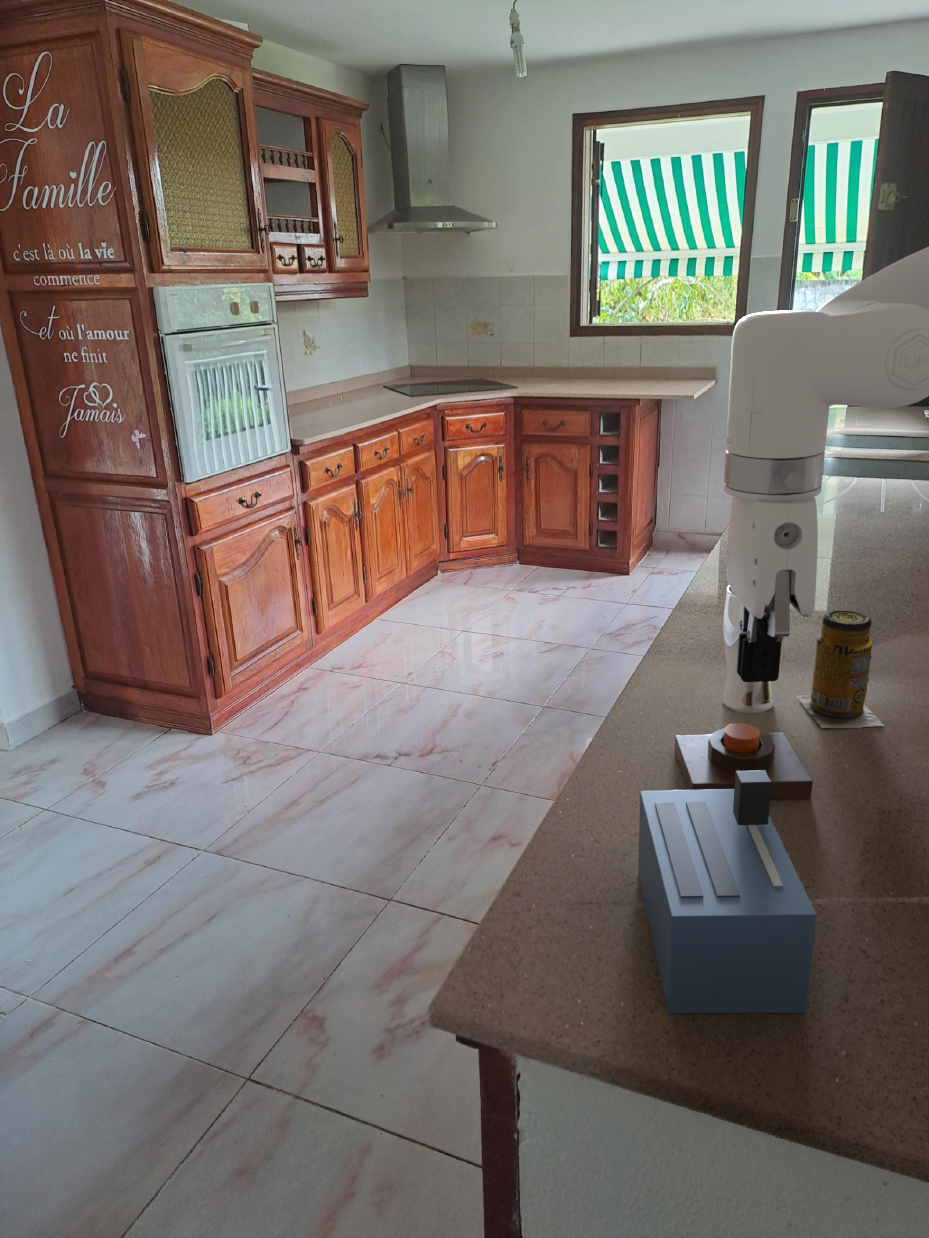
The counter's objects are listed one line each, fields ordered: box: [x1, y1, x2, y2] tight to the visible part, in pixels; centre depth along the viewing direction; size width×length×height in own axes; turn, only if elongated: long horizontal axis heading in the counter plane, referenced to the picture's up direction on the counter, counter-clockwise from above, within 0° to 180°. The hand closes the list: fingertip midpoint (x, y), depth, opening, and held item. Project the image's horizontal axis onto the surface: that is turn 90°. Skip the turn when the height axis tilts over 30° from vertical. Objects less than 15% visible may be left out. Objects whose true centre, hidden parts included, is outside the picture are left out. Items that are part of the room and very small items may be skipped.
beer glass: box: [721, 585, 774, 715], centre depth 107 cm, size 7×7×15 cm
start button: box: [723, 722, 761, 753], centre depth 93 cm, size 4×4×2 cm
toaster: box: [637, 789, 818, 1015], centre depth 71 cm, size 10×16×9 cm, turn 177°
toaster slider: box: [733, 770, 772, 825], centre depth 71 cm, size 2×2×4 cm
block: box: [674, 727, 813, 801], centre depth 94 cm, size 12×10×4 cm
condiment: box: [795, 609, 885, 729], centre depth 104 cm, size 7×8×12 cm
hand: (757, 677), depth 78 cm, fingers closed
